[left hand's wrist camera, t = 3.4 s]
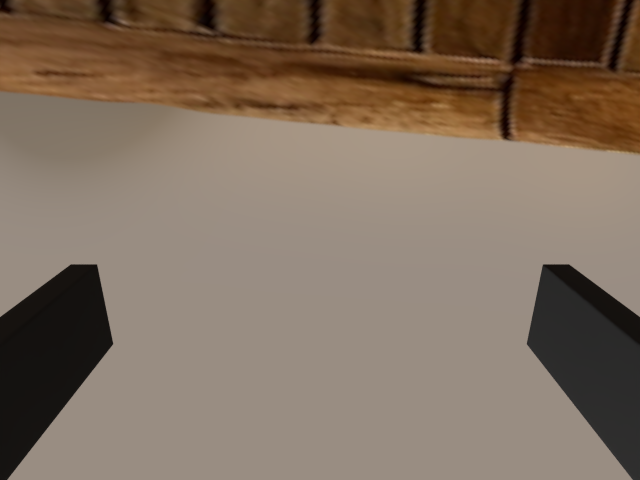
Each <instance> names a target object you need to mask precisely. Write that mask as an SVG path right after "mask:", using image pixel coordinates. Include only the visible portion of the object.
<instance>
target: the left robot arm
mask: <svg viewBox="0 0 640 480" xmlns="http://www.w3.org/2000/svg"><path fill="white" fill-rule="evenodd" d="M112 345H113V341H112V336H111V331H110V326H109V321H108V316H107V311H106V306H105V302H104V297H103V292H102V287H101V282H100V277H99V272H98V267H97V265H70V266H68V267H67V268H66V269H64V270H63V271H62V272H60V273H59V274H58V275H56V276H55V277H54V278H52V279H51V280H50V281H48V282H47V283H45V284H44V285H43V286H41V287H40V288H39V289H37V290H36V291H35V292H33V293H32V294H31V295H29V296H28V297H27V298H25V299H24V300H23V301H21V302H20V303H19V304H17V305H16V306H15V307H13V308H12V309H11V310H9V311H8V312H7V313H5V314H4V315H2V316H1V317H0V480H7V479H8V478H9V477H10V475H11V474H12V473H13V472H14V470H15V469H16V468H17V466H18V465H19V464H20V463H21V461H22V460H23V459H24V457H25V456H26V455H27V454H28V452H29V451H30V450H31V448H32V447H33V446H34V445H35V443H36V442H37V441H38V439H39V438H40V437H41V436H42V434H43V433H44V432H45V431H46V429H47V428H48V427H49V425H50V424H51V423H52V422H53V420H54V419H55V418H56V417H57V415H58V414H59V413H60V411H61V410H62V409H63V408H64V406H65V405H66V404H67V402H68V401H69V400H70V399H71V397H72V396H73V395H74V393H75V392H76V391H77V390H78V388H79V387H80V386H81V385H82V383H83V382H84V381H85V379H86V378H87V377H88V376H89V374H90V373H91V372H92V370H93V369H94V368H95V367H96V365H97V364H98V363H99V361H100V360H101V359H102V358H103V356H104V355H105V354H106V353H107V351H108V350H109V349H110V347H111V346H112ZM527 345H528V346H529V347H530V349H531V350H532V351H533V353H534V354H535V355H536V356H537V358H538V359H539V360H540V361H541V363H542V364H543V365H544V367H545V368H546V369H547V370H548V372H549V373H550V374H551V376H552V377H553V378H554V379H555V381H556V382H557V383H558V384H559V386H560V387H561V388H562V390H563V391H564V392H565V393H566V395H567V396H568V397H569V399H570V400H571V401H572V402H573V404H574V405H575V406H576V408H577V409H578V410H579V411H580V413H581V414H582V415H583V417H584V418H585V419H586V420H587V422H588V423H589V424H590V425H591V427H592V428H593V429H594V431H595V432H596V433H597V434H598V436H599V437H600V438H601V440H602V441H603V442H604V443H605V445H606V446H607V447H608V448H609V450H610V451H611V452H612V454H613V455H614V456H615V457H616V459H617V460H618V461H619V463H620V464H621V465H622V466H623V468H624V469H625V470H626V471H627V473H628V474H629V475H630V477H631V478H632V479H633V480H640V317H639V316H638V315H636V314H635V313H634V312H632V311H631V310H630V309H628V308H627V307H625V306H624V305H623V304H621V303H620V302H619V301H617V300H616V299H615V298H613V297H612V296H611V295H609V294H608V293H607V292H605V291H604V290H603V289H601V288H600V287H599V286H597V285H596V284H595V283H593V282H592V281H591V280H589V279H588V278H586V277H585V276H584V275H582V274H581V273H580V272H578V271H577V270H576V269H574V268H573V267H572V266H570V265H543V267H542V272H541V277H540V282H539V287H538V292H537V297H536V301H535V307H534V312H533V316H532V321H531V326H530V331H529V336H528V341H527Z"/></svg>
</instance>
